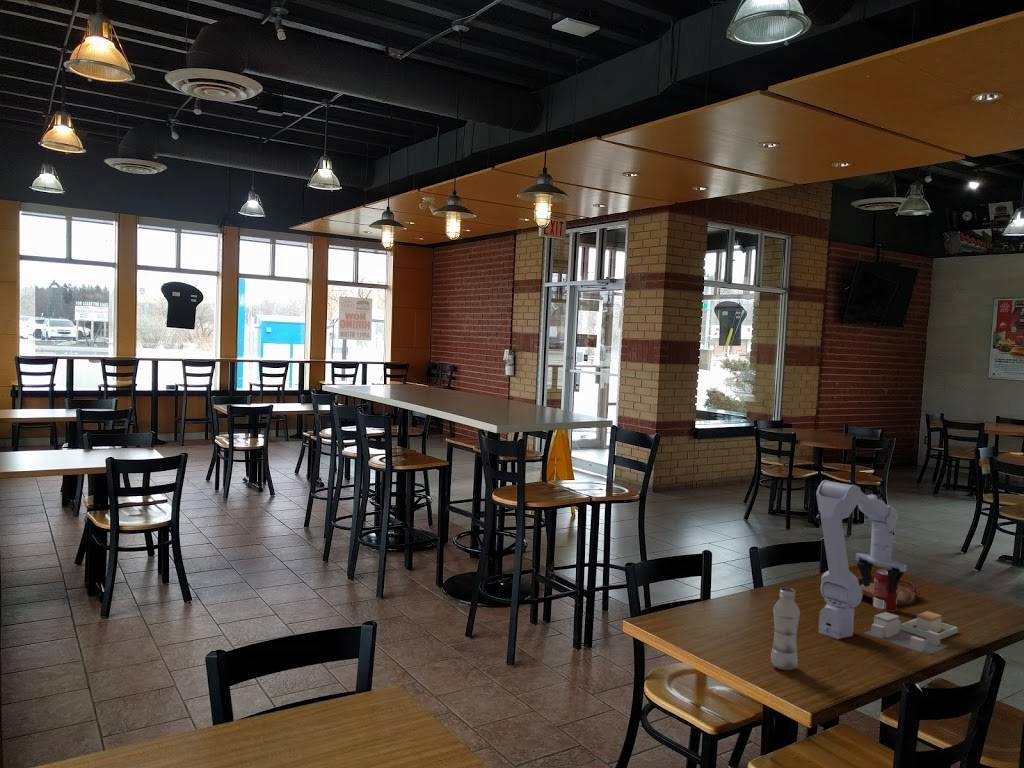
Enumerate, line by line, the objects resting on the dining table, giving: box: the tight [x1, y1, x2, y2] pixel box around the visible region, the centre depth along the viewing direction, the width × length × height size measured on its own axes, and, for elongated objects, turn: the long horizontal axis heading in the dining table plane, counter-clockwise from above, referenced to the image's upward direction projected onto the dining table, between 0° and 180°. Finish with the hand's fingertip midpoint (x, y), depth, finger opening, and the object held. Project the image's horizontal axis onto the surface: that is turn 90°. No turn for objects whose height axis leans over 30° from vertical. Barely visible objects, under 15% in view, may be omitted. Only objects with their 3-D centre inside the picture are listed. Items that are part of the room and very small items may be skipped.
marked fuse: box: [915, 610, 942, 633], centre depth 218 cm, size 6×4×5 cm, turn 125°
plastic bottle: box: [770, 587, 801, 671], centre depth 190 cm, size 6×7×20 cm
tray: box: [900, 617, 959, 640], centre depth 218 cm, size 12×10×2 cm
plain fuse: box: [873, 611, 900, 637], centre depth 215 cm, size 6×4×5 cm, turn 125°
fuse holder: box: [863, 620, 949, 656], centre depth 210 cm, size 11×18×4 cm, turn 35°
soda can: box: [872, 569, 898, 613], centre depth 238 cm, size 7×7×12 cm
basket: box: [856, 573, 918, 606], centre depth 251 cm, size 22×20×5 cm
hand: (879, 589), depth 226 cm, fingers open, 7 cm apart
